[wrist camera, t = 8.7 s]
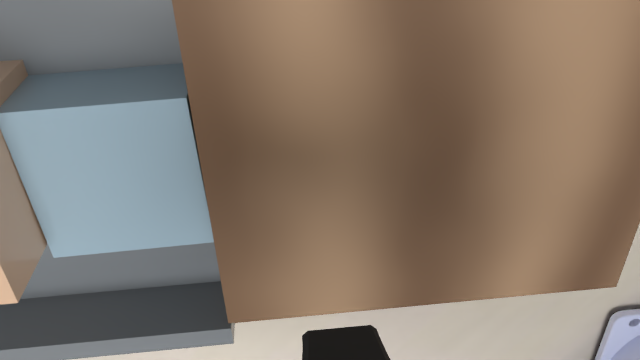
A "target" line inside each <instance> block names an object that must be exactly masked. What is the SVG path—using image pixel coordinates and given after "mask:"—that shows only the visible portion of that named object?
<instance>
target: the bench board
mask: <svg viewBox="0 0 640 360" xmlns="http://www.w3.org/2000/svg"><path fill="white" fill-rule="evenodd" d="M172 5H173V11H174V17H175V22H176V28H177V34H178V39H179V45H180V51H181V56H182V62H183V68H184V74H185V79H186V85H187V91H188V96H189V102H190V108H191V113H192V119H193V125H194V131H195V136H196V142H197V148H198V153H199V159H200V165H201V171H202V176H203V182H204V188H205V193H206V199H207V205H208V210H209V216H210V222H211V228H212V233H213V239H214V245H215V250H216V256H217V262H218V268H219V273H220V279H221V285H222V290H223V296H224V302H225V307H226V313H227V319H228V323H238V322H249V321H259V320H270V319H281V318H291V317H302V316H312V315H323V314H334V313H344V312H355V311H365V310H376V309H387V308H397V307H408V306H418V305H429V304H440V303H450V302H461V301H471V300H482V299H493V298H503V297H514V296H524V295H535V294H545V293H556V292H567V291H577V290H588V289H598V288H609V287H616V286H617V283H618V280H619V277H620V275H621V272H622V269H623V267H624V264H625V261H626V258H627V256H628V253H629V250H630V247H631V245H632V242H633V239H634V236H635V234H636V231H637V228H638V225H639V223H640V0H172Z"/></svg>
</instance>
